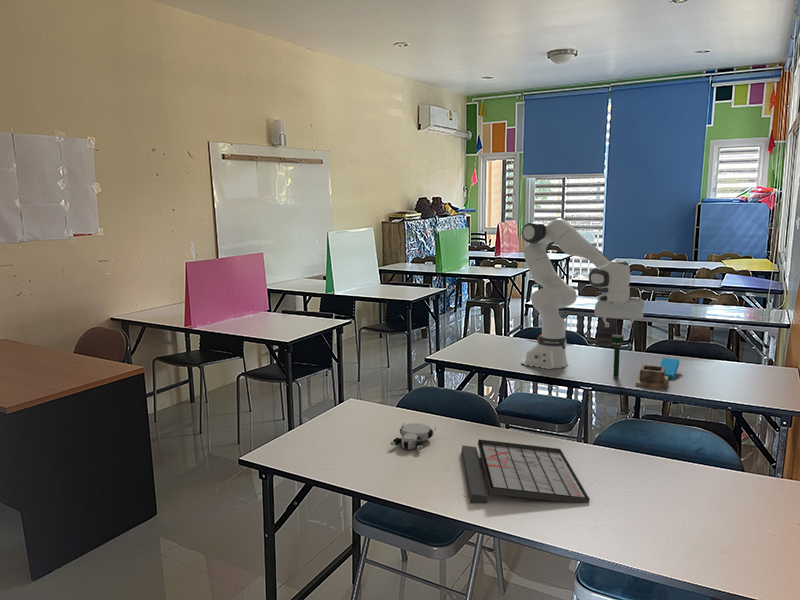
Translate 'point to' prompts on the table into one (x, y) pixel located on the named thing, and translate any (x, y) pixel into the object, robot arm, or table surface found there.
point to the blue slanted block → (670, 367)
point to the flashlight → (616, 352)
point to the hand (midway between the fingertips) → (618, 327)
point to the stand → (652, 377)
